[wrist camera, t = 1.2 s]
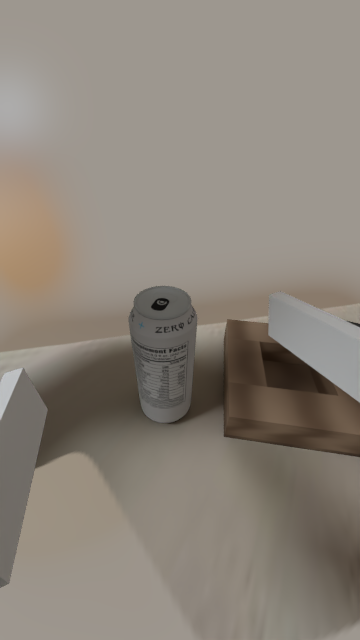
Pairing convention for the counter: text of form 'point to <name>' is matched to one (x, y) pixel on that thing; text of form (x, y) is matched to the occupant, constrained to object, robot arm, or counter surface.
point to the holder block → (283, 396)
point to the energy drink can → (163, 351)
